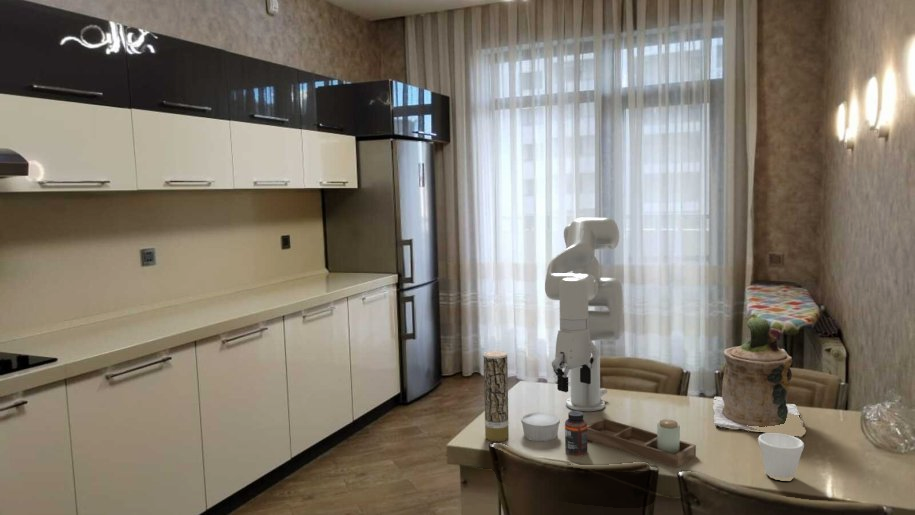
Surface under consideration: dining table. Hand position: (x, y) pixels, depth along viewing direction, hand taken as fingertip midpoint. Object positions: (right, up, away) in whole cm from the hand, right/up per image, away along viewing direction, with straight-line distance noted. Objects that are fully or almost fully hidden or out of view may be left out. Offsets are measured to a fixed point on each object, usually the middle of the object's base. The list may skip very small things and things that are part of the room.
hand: (574, 386), depth 172 cm
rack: (+18, -18, +4) cm, 26 cm away
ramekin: (-7, -18, +15) cm, 24 cm away
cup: (+48, -19, -15) cm, 53 cm away
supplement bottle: (+1, -19, +2) cm, 19 cm away
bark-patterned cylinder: (-20, -18, +14) cm, 30 cm away
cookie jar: (+60, -15, +23) cm, 66 cm away
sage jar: (+24, -18, -3) cm, 30 cm away
